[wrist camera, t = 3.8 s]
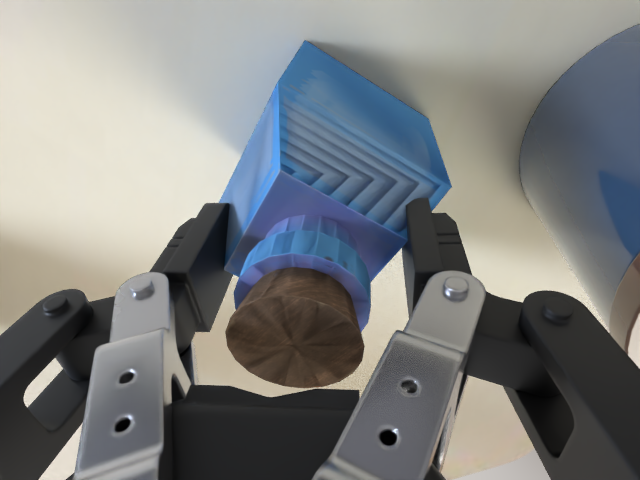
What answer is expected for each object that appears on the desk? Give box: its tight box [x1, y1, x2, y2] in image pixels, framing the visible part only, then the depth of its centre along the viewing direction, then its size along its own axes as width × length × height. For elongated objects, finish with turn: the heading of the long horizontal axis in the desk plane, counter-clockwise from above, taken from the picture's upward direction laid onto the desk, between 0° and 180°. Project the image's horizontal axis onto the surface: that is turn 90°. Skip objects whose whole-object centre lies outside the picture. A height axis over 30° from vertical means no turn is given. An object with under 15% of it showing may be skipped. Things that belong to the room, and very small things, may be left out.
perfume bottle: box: [219, 40, 452, 388], centre depth 14 cm, size 6×6×12 cm
